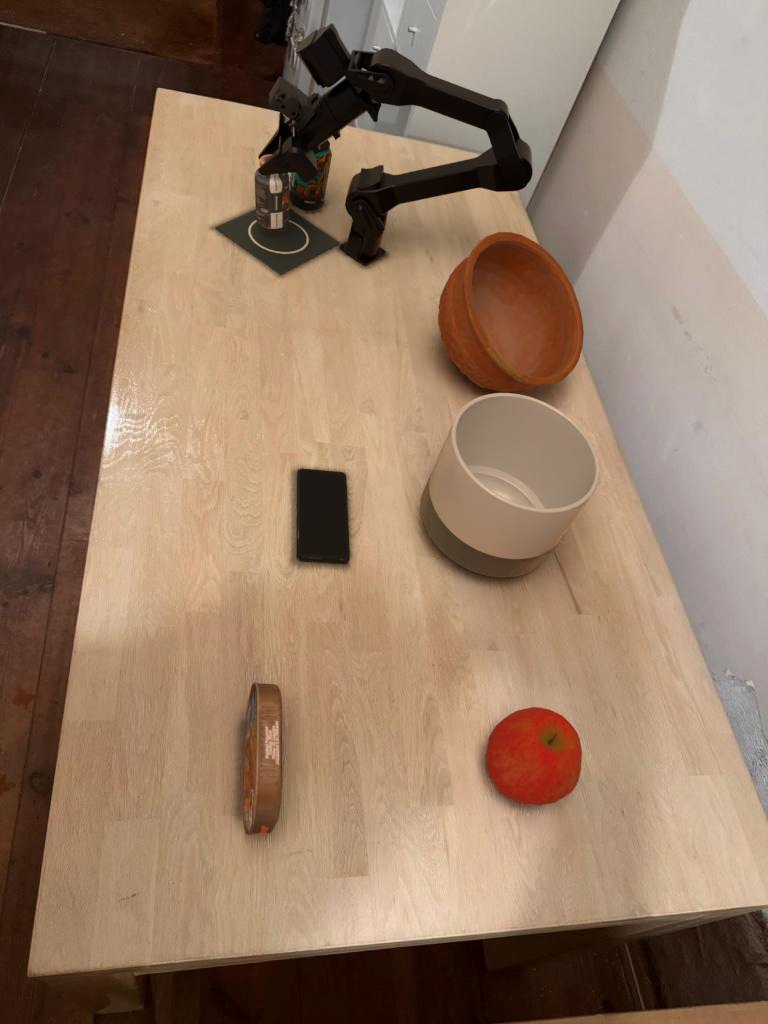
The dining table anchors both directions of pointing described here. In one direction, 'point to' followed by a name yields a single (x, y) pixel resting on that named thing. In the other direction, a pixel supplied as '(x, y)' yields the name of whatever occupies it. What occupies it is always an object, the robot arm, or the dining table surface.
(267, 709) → the tin
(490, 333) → the bowl
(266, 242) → the slate board
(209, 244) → the dining table surface
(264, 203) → the pill bottle
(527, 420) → the planter
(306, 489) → the smartphone
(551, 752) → the apple
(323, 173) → the beverage can
